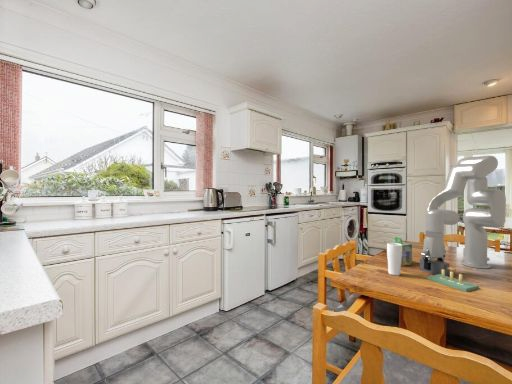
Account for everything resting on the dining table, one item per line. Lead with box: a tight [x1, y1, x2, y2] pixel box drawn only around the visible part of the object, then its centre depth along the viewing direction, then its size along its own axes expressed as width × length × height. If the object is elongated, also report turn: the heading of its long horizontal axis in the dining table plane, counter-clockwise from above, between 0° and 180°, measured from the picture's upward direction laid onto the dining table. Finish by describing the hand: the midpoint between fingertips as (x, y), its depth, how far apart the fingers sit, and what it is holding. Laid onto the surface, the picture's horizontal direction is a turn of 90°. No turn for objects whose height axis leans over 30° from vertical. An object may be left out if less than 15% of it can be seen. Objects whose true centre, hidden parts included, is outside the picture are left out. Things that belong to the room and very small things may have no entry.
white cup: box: [386, 242, 402, 277], centre depth 129 cm, size 7×7×15 cm
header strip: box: [426, 269, 480, 292], centre depth 116 cm, size 9×16×5 cm, turn 23°
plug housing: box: [419, 257, 457, 277], centre depth 130 cm, size 5×16×6 cm, turn 23°
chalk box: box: [386, 236, 413, 267], centre depth 147 cm, size 9×9×15 cm
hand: (433, 268), depth 131 cm, fingers open, 9 cm apart
